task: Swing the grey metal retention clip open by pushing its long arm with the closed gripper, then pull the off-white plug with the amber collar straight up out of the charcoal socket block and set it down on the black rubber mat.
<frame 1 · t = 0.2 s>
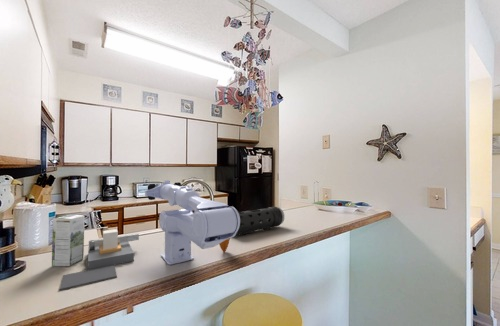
hand: (160, 189, 93), 21 cm above the counter, tool horizontal, fingers open, 7 cm apart
clip: (114, 241, 81), point 4 cm above the counter, hinge at 0.0°
carrot: (224, 252, 81), on the counter
plug: (110, 243, 77), in the socket block
syrup box: (68, 263, 73), on the counter
socket block: (110, 257, 77), on the counter
mat: (89, 276, 63), on the counter
muzzle brake: (256, 232, 107), on the counter
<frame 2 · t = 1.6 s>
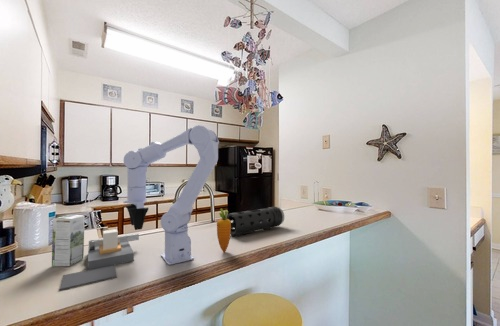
hand: (136, 227, 79), 9 cm above the counter, tool pointing down, fingers open, 7 cm apart
nothing on the counter moved.
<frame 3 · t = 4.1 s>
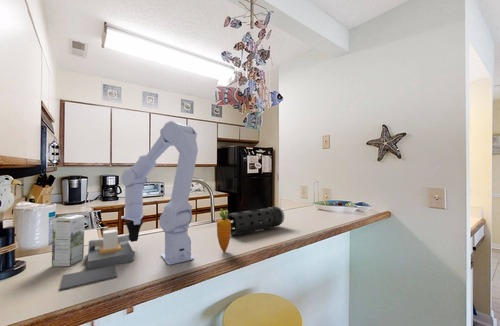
hand: (133, 241, 84), 3 cm above the counter, tool pointing down, fingers closed, pressing on clip
clip: (114, 241, 81), point 4 cm above the counter, hinge at 4.8°, touching gripper
everything else where it was.
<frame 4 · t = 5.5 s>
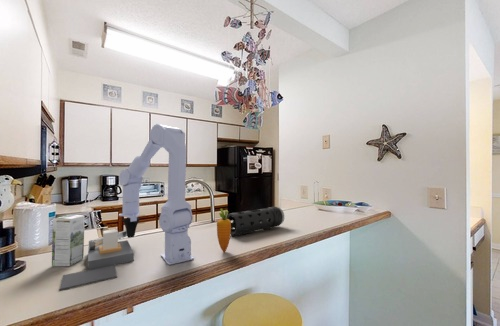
hand: (130, 237, 89), 3 cm above the counter, tool pointing down, fingers closed
clip: (110, 239, 83), point 4 cm above the counter, hinge at 35.3°, touching gripper
everything else where it was.
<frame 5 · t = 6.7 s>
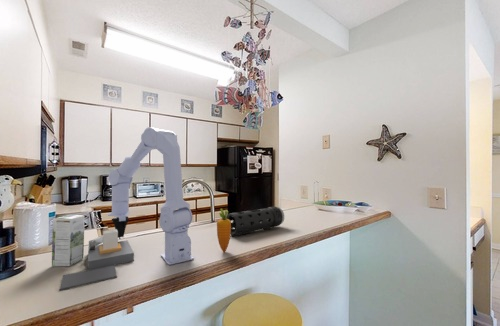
hand: (120, 236, 89), 3 cm above the counter, tool pointing down, fingers closed
clip: (104, 239, 84), point 4 cm above the counter, hinge at 56.6°, touching gripper
everything else where it was.
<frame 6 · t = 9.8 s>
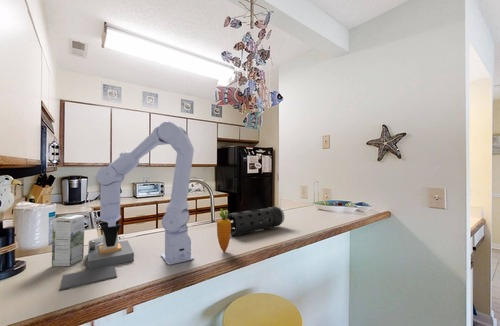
hand: (110, 244, 77), 4 cm above the counter, tool pointing down, fingers closed on plug, 4 cm apart
clip: (104, 239, 84), point 4 cm above the counter, hinge at 56.7°
plug: (110, 243, 77), in the socket block, touching gripper
everything else where it was.
when the fingers open (5 cm above the counter, at t = 13.7 s): plug stays where it is, resting on mat.
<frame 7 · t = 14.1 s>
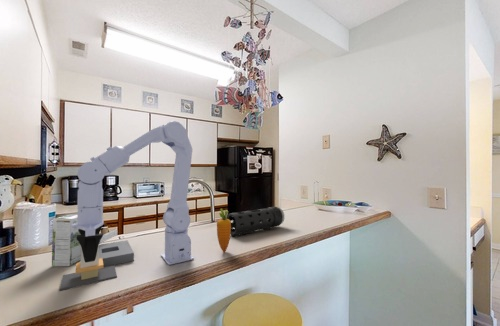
hand: (90, 256, 63), 5 cm above the counter, tool pointing down, fingers open, 7 cm apart
plug: (89, 260, 63), on the mat
everything else where it was.
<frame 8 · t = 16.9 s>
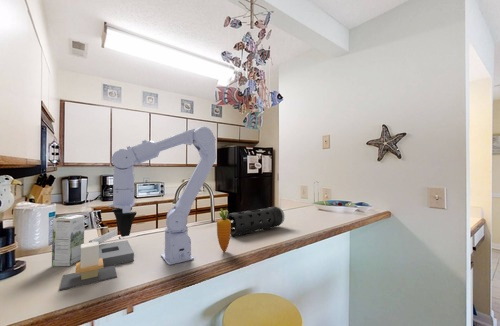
hand: (123, 233, 72), 9 cm above the counter, tool pointing down, fingers open, 7 cm apart
nothing on the counter moved.
at the end: clip at +57° (first picture: +0°); plug inside the target area on the mat (0.0 cm from its centre), point 4.5 cm above the mat's base; the gripper is holding nothing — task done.
